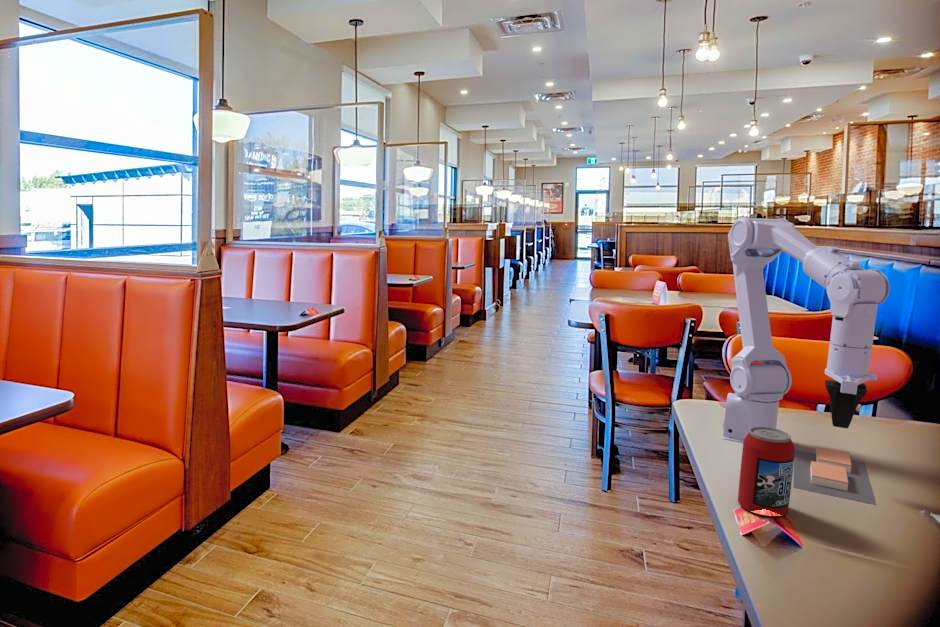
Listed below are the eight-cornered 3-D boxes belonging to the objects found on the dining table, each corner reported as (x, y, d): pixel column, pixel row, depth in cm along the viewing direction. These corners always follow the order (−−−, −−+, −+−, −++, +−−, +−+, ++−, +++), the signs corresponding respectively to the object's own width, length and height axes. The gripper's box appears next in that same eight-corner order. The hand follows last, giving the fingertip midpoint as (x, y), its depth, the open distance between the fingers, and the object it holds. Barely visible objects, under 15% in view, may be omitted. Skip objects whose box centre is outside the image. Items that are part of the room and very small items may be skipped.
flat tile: (816, 466, 101) (817, 458, 101) (815, 453, 107) (816, 446, 107) (850, 472, 99) (851, 465, 98) (847, 459, 105) (848, 452, 104)
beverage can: (767, 525, 81) (776, 444, 79) (727, 504, 87) (734, 428, 85) (797, 515, 84) (807, 437, 82) (756, 496, 90) (764, 422, 88)
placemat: (793, 489, 93) (793, 487, 92) (794, 451, 109) (794, 449, 109) (875, 507, 87) (876, 504, 87) (863, 464, 104) (864, 462, 103)
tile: (812, 475, 94) (811, 460, 100) (811, 483, 94) (810, 468, 100) (848, 482, 91) (845, 467, 98) (847, 490, 92) (844, 475, 98)
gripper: (886, 356, 84) (874, 445, 86) (876, 340, 96) (865, 418, 98) (829, 350, 87) (819, 435, 89) (826, 335, 100) (817, 411, 102)
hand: (840, 426), depth 94 cm, fingers closed
